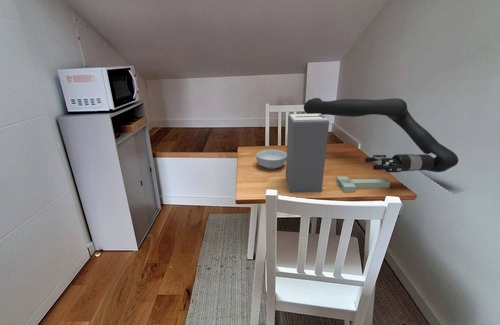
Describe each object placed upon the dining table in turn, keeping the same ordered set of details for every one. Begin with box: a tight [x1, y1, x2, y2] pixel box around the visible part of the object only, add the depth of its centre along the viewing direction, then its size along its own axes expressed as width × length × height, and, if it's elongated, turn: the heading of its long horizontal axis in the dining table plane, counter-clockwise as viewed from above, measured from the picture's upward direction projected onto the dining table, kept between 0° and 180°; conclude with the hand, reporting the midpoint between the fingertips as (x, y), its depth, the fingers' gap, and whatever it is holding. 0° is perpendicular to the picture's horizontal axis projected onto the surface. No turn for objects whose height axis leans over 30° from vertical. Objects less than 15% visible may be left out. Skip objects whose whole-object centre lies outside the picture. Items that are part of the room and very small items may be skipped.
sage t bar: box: [335, 176, 391, 193], centre depth 111 cm, size 22×10×3 cm, turn 91°
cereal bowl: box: [255, 149, 287, 170], centre depth 133 cm, size 17×17×7 cm
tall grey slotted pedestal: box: [285, 113, 330, 194], centre depth 107 cm, size 14×14×32 cm
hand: (369, 163), depth 106 cm, fingers open, 7 cm apart
